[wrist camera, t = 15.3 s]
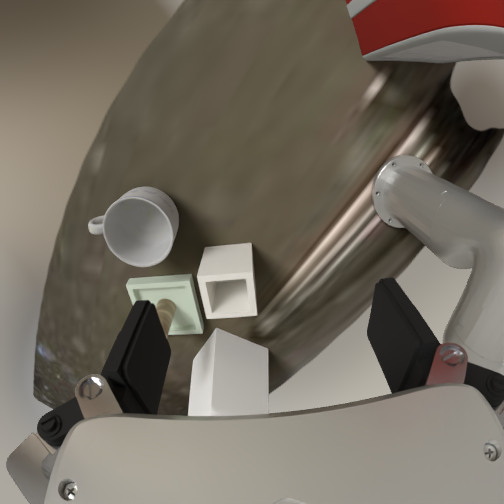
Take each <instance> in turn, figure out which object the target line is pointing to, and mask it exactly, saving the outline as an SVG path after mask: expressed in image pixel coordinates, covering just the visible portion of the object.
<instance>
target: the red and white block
mask: <svg viewBox="0 0 504 504" xmlns="http://www.w3.org/2000/svg"><path fill="white" fill-rule="evenodd" d="M346 2H347V9H348V12H349V15H350V18H351V19H352V21H353V24H354V27H355V30H356V34H357V37H358V41H359V45H360V49H361V52H362V55H363V58H364V59H365V60H366V61H413V62H428V63H440V64H441V63H449V62H459V61H471V60H489V59H490V60H491V59H504V0H346Z"/></svg>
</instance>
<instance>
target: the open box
mask: <svg viewBox="0 0 504 504" xmlns="http://www.w3.org/2000/svg"><path fill="white" fill-rule="evenodd" d="M197 279H198V283H199V288H200V292H201V297H202V301H203V305H204V310H205V314H206V318H207V319H215V318H230V317H244V316H256V315H257V301H256V282H255V272H254V263H253V253H252V243H244V244H233V245H222V246H212V247H205V249H204V252H203V256H202V260H201V263H200V267H199V271H198V274H197Z"/></svg>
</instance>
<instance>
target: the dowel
mask: <svg viewBox="0 0 504 504" xmlns="http://www.w3.org/2000/svg"><path fill="white" fill-rule="evenodd" d="M156 310H157V313H158V316H159V319H160V322H161V324H162V327H163V330H164V333H165V335H166V338H167V337H168V333H169V330H170V327H171V323H172V320H173V317H174V313H175V310H176V306H175V304H174V302H173V301H171V300H169V299H161V300H159V301H158V303H157V306H156Z"/></svg>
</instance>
